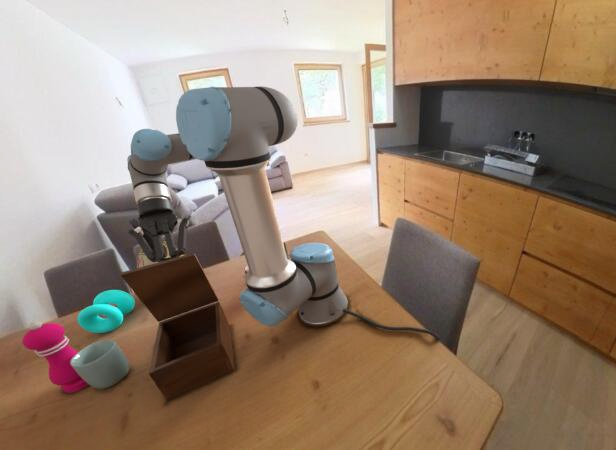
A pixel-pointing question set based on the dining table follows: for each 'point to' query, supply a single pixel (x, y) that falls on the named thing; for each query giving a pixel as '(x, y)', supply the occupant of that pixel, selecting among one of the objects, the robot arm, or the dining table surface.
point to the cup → (101, 364)
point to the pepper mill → (55, 354)
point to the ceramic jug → (142, 257)
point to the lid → (171, 286)
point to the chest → (191, 351)
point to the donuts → (106, 311)
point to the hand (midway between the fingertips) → (173, 282)
